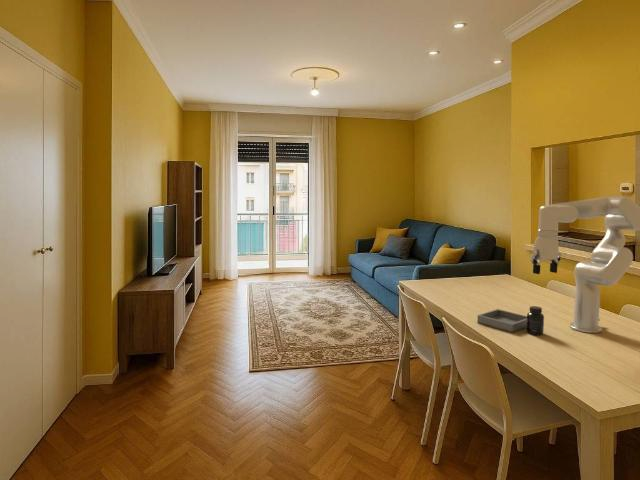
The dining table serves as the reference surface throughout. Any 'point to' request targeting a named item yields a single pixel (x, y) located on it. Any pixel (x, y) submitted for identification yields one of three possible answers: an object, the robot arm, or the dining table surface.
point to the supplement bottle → (535, 321)
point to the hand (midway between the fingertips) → (544, 273)
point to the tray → (503, 320)
